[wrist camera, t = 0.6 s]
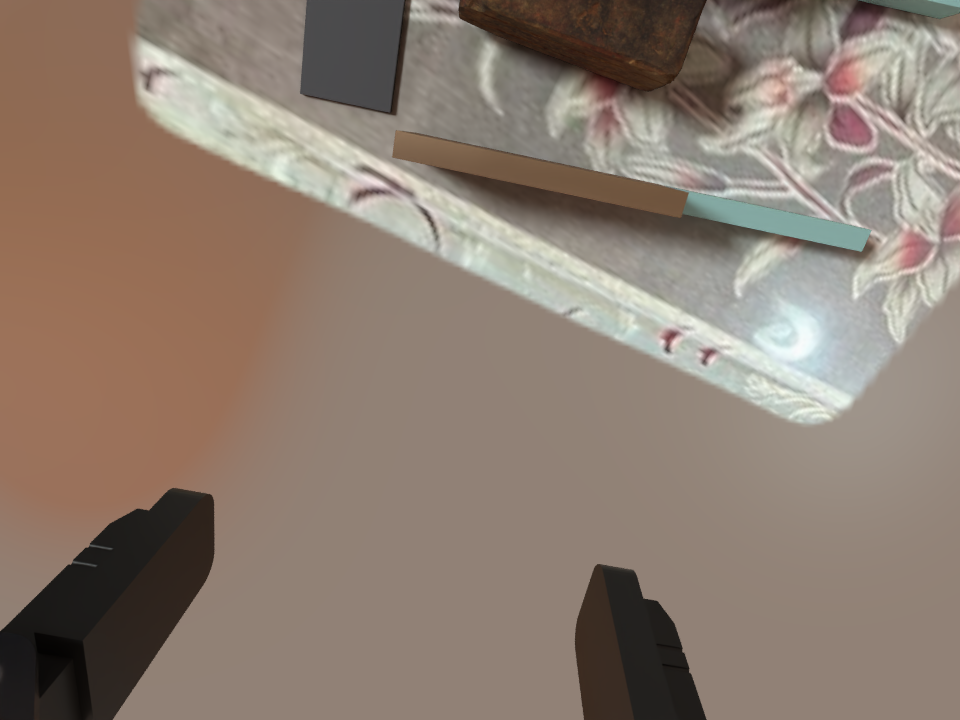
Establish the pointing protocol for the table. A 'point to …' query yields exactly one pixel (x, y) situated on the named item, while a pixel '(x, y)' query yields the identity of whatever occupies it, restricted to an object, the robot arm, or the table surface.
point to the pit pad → (352, 51)
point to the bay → (932, 3)
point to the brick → (598, 33)
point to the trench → (539, 173)
